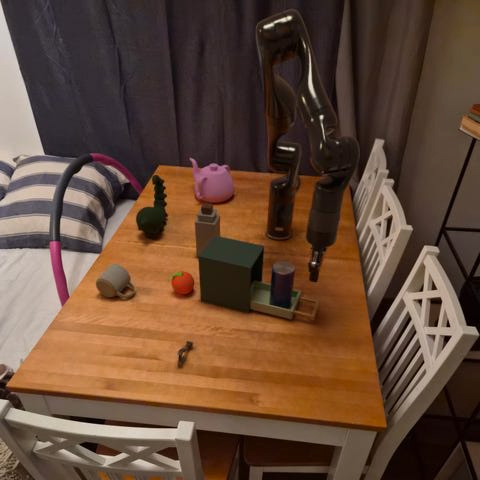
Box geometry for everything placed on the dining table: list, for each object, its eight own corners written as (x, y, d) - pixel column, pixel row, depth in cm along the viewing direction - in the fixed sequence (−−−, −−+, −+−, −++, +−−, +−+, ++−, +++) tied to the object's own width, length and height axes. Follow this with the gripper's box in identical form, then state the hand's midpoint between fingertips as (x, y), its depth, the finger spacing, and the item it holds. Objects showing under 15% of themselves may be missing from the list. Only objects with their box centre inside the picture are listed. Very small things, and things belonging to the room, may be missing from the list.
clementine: (169, 300, 122) (167, 281, 117) (168, 286, 127) (166, 267, 122) (196, 297, 123) (194, 278, 118) (193, 283, 128) (192, 265, 123)
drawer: (320, 303, 120) (321, 295, 118) (312, 325, 113) (314, 317, 111) (253, 287, 126) (253, 279, 124) (242, 307, 118) (242, 299, 116)
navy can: (272, 294, 122) (276, 258, 114) (293, 299, 121) (298, 263, 112) (266, 307, 118) (269, 270, 109) (287, 312, 116) (292, 276, 107)
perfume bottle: (215, 260, 138) (214, 211, 126) (196, 257, 139) (193, 209, 127) (220, 249, 143) (219, 202, 131) (202, 247, 144) (199, 199, 132)
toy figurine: (152, 217, 163) (132, 245, 143) (146, 170, 152) (124, 192, 132) (175, 219, 162) (158, 247, 142) (171, 171, 151) (152, 194, 131)
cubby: (261, 289, 126) (264, 245, 115) (248, 313, 118) (250, 268, 107) (216, 279, 130) (215, 235, 119) (200, 301, 122) (198, 256, 111)
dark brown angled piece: (174, 367, 101) (175, 350, 99) (185, 355, 108) (186, 339, 107) (180, 368, 100) (182, 351, 99) (191, 356, 108) (193, 341, 106)
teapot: (207, 180, 187) (205, 150, 178) (245, 193, 178) (246, 161, 169) (174, 197, 174) (171, 165, 164) (214, 211, 164) (213, 178, 155)
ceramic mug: (96, 295, 122) (91, 275, 117) (111, 280, 128) (107, 260, 123) (127, 304, 120) (122, 283, 115) (141, 288, 126) (137, 268, 120)
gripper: (314, 208, 104) (305, 264, 116) (301, 233, 95) (294, 291, 106) (343, 214, 102) (331, 270, 114) (333, 239, 93) (322, 297, 104)
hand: (313, 280), depth 110 cm, fingers closed
